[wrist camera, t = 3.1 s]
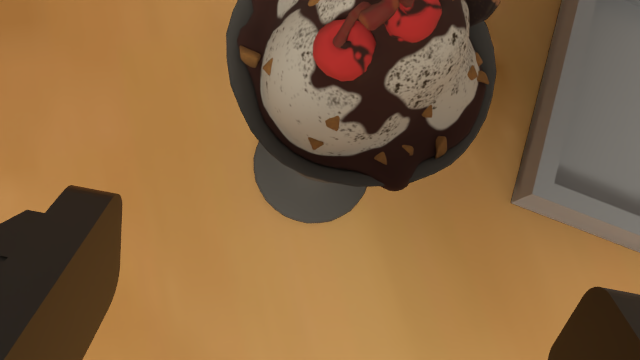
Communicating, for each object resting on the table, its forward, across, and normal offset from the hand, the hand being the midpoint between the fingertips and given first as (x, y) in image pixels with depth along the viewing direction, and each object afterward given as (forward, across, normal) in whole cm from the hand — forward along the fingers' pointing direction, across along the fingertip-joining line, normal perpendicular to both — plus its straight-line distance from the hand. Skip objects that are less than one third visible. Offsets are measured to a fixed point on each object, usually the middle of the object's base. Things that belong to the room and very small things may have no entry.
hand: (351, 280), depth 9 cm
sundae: (+13, 0, +5) cm, 14 cm away
